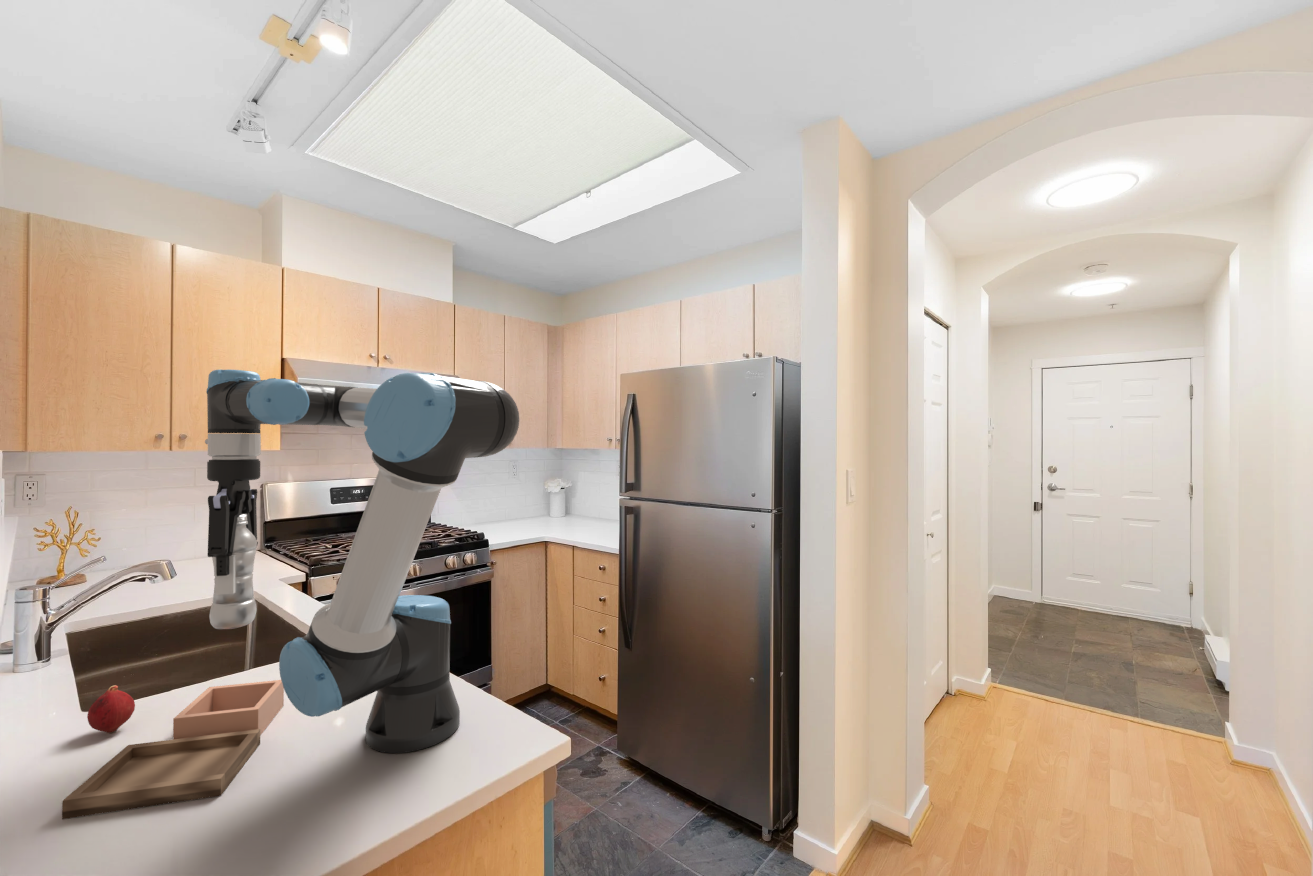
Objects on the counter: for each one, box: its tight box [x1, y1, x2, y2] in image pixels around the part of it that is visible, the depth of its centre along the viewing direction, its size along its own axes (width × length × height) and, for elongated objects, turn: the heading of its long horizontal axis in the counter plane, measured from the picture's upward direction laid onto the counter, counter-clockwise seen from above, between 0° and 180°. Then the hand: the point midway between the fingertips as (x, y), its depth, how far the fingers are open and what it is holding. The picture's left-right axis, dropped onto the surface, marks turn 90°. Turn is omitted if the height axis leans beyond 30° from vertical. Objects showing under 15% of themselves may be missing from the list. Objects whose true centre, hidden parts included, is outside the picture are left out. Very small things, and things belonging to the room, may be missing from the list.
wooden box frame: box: [172, 679, 285, 740], centre depth 99 cm, size 12×12×5 cm
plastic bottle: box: [208, 513, 258, 630], centre depth 98 cm, size 6×7×20 cm
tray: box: [61, 729, 261, 820], centre depth 84 cm, size 18×14×2 cm
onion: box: [86, 684, 136, 734], centre depth 96 cm, size 6×6×8 cm
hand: (233, 588), depth 99 cm, fingers closed on plastic bottle, 6 cm apart
